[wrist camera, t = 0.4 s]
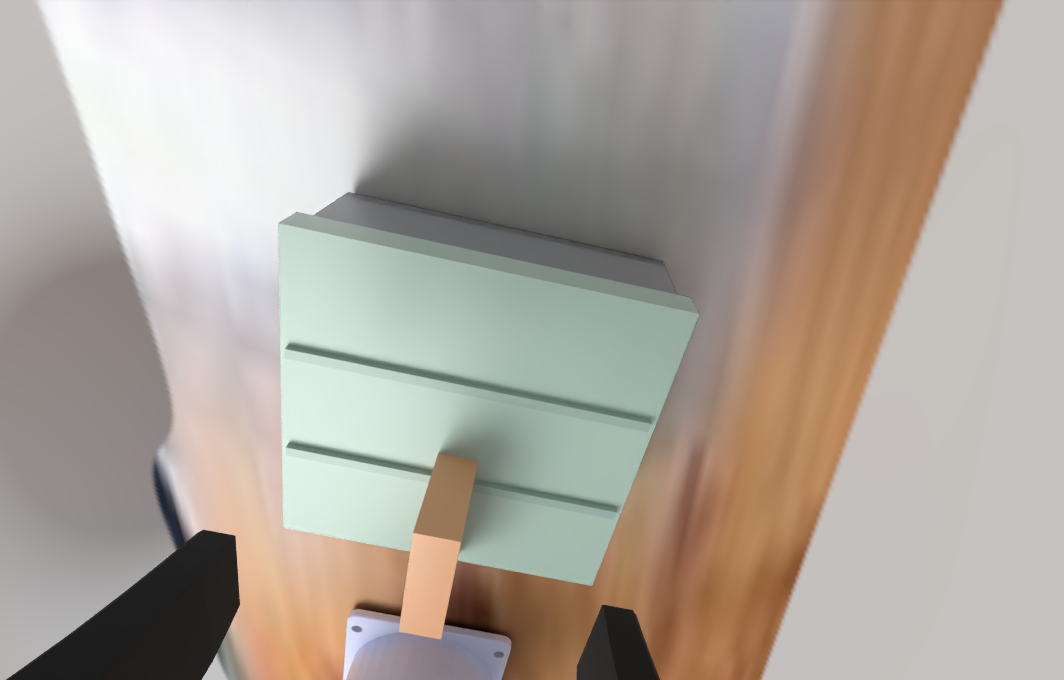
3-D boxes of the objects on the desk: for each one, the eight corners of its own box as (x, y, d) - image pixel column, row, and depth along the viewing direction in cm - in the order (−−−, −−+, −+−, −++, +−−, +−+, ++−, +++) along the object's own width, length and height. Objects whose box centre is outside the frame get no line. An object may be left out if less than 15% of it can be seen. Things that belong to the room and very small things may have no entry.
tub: (584, 491, 22) (587, 556, 19) (336, 442, 22) (302, 502, 19) (663, 261, 17) (681, 302, 14) (348, 191, 17) (304, 221, 14)
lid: (589, 543, 20) (596, 676, 16) (306, 488, 20) (234, 610, 15) (685, 285, 15) (732, 378, 11) (309, 203, 15) (204, 268, 10)
